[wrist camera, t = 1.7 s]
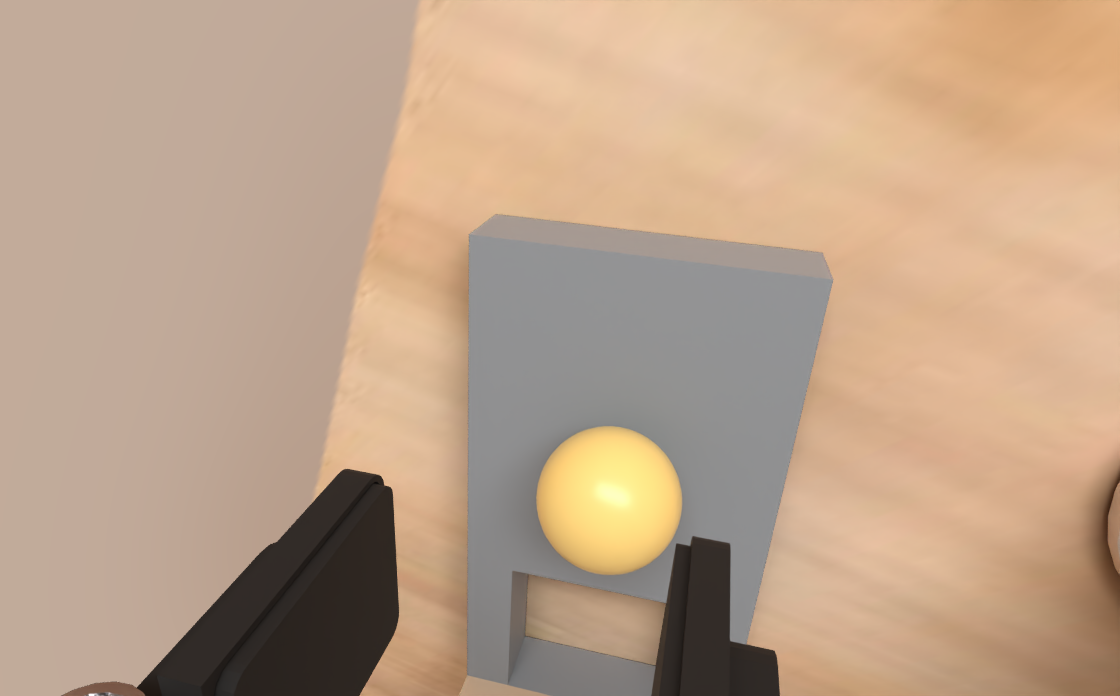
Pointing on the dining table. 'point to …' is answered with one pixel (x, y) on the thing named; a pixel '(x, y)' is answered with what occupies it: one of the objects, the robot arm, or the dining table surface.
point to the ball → (609, 500)
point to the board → (624, 415)
